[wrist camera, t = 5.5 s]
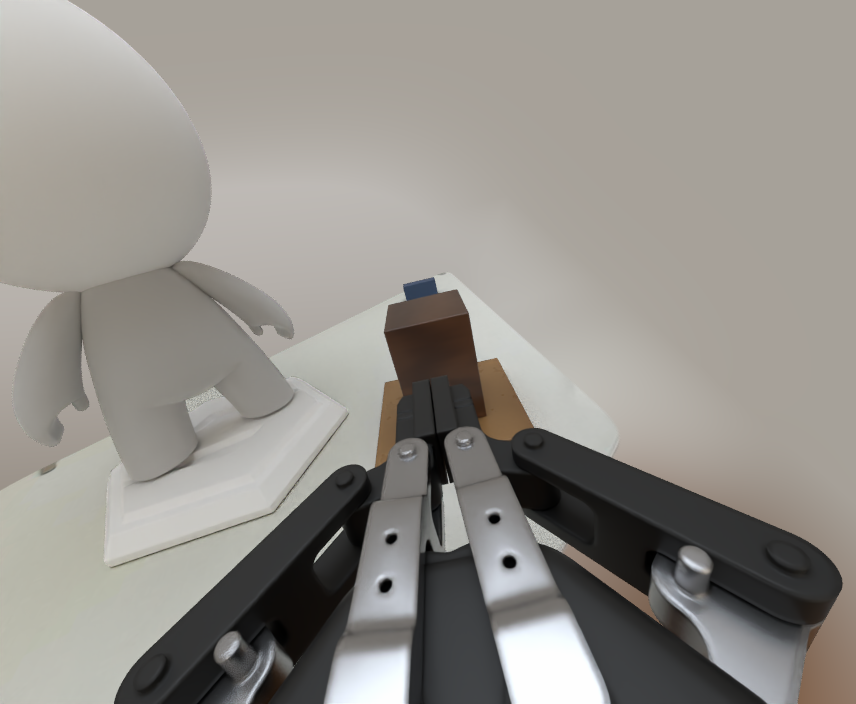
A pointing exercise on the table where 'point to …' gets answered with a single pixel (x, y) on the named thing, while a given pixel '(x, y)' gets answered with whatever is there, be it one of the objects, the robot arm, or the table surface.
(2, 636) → the table surface
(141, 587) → the table surface
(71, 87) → the big headed doll
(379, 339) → the table surface
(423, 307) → the block
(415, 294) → the blue rectangular block
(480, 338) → the table surface
